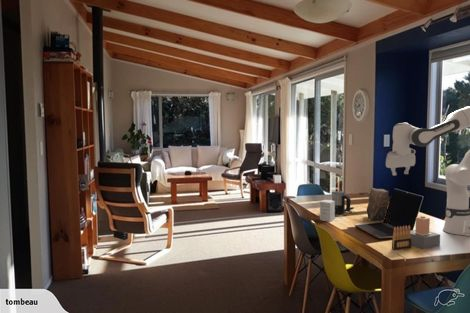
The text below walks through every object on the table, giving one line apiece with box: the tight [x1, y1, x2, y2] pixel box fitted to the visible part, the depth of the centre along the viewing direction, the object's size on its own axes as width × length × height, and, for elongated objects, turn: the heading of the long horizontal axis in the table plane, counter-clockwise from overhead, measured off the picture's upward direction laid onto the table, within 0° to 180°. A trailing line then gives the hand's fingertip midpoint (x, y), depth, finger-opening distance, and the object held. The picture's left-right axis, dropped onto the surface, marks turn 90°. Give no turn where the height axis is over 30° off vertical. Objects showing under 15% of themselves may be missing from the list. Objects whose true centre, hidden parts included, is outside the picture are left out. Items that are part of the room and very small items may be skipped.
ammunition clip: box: [391, 224, 412, 251], centre depth 202 cm, size 11×2×12 cm, turn 107°
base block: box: [410, 229, 441, 250], centre depth 208 cm, size 12×12×6 cm
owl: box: [366, 187, 390, 222], centre depth 259 cm, size 13×13×20 cm
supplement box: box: [319, 199, 336, 223], centre depth 260 cm, size 7×7×13 cm
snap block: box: [415, 215, 431, 234], centre depth 207 cm, size 5×5×9 cm
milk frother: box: [331, 190, 355, 215], centre depth 280 cm, size 14×16×15 cm
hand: (400, 174), depth 229 cm, fingers open, 8 cm apart
